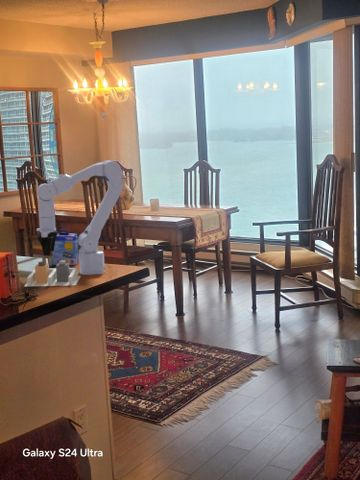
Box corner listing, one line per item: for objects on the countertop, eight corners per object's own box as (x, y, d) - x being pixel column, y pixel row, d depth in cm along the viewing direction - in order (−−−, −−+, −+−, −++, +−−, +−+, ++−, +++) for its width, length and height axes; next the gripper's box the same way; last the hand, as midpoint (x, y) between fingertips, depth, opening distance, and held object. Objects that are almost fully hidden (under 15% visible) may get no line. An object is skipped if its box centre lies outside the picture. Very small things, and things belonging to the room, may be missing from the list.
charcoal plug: (69, 279, 231) (68, 259, 229) (68, 281, 227) (67, 262, 225) (58, 279, 230) (57, 260, 229) (56, 282, 227) (55, 262, 225)
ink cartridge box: (52, 265, 258) (50, 230, 255) (55, 262, 263) (53, 227, 260) (76, 265, 257) (74, 229, 254) (79, 262, 263) (77, 227, 260)
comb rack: (81, 277, 236) (80, 267, 235) (75, 287, 222) (75, 276, 221) (32, 278, 235) (31, 268, 235) (24, 288, 222) (23, 278, 221)
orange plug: (49, 280, 229) (48, 260, 228) (47, 283, 226) (46, 263, 224) (38, 280, 229) (36, 261, 228) (35, 283, 225) (34, 263, 224)
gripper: (39, 214, 239) (41, 249, 242) (31, 219, 225) (34, 257, 228) (58, 213, 239) (60, 249, 242) (51, 219, 225) (53, 256, 228)
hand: (49, 253), depth 235 cm, fingers open, 7 cm apart
